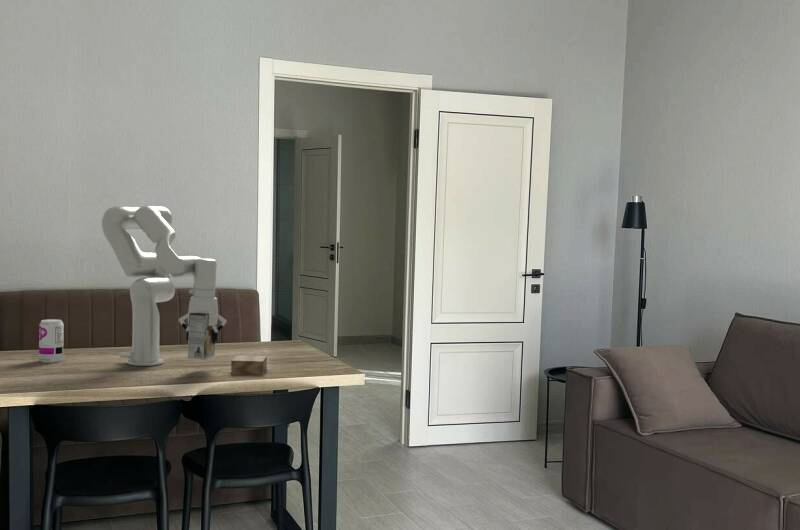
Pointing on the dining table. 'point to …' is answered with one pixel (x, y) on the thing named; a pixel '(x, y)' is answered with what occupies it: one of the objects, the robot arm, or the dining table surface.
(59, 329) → the supplement can
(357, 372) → the dining table surface
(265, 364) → the walnut block
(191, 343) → the coffee box
